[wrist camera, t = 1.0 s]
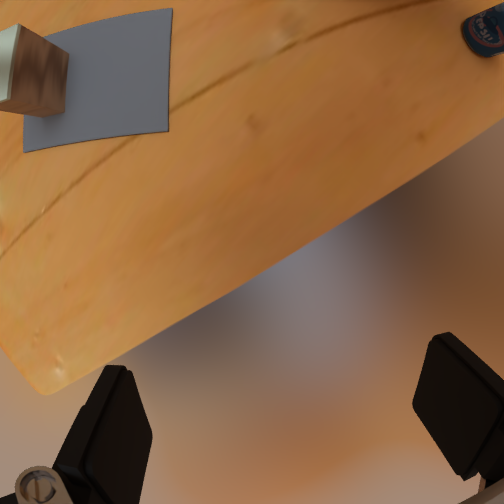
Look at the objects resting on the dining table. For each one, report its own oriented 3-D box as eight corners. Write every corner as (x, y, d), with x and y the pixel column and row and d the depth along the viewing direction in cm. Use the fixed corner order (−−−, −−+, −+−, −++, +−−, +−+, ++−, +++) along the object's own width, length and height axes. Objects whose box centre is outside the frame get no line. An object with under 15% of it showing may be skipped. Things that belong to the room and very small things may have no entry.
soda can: (452, 20, 30) (502, -4, 18) (477, 19, 29) (524, 0, 18) (471, 60, 31) (525, 45, 20) (495, 57, 31) (545, 45, 20)
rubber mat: (33, 42, 27) (32, 41, 27) (172, 9, 28) (172, 7, 28) (25, 152, 31) (23, 152, 31) (168, 131, 33) (167, 130, 32)
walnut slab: (46, 60, 28) (-8, 35, 16) (69, 53, 28) (18, 23, 17) (42, 117, 30) (-19, 108, 19) (64, 112, 30) (6, 98, 19)
